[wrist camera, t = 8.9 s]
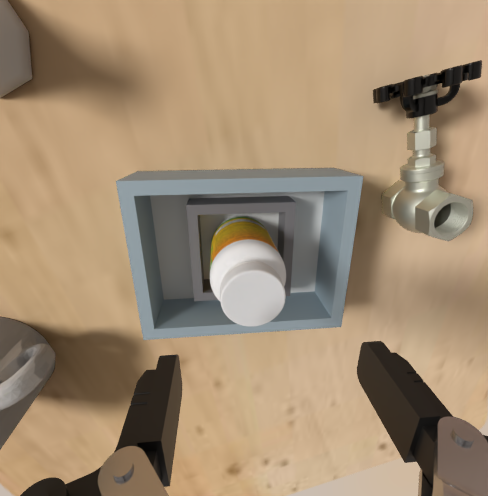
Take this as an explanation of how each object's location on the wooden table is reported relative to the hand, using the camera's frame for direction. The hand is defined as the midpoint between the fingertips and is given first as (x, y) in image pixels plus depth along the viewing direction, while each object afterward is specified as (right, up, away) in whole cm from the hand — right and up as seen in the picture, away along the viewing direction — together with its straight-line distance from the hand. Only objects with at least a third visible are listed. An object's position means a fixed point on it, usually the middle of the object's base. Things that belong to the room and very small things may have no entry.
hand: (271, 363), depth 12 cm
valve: (+13, +13, +13) cm, 23 cm away
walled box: (-2, +6, +15) cm, 16 cm away
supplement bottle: (-2, +6, +14) cm, 15 cm away
